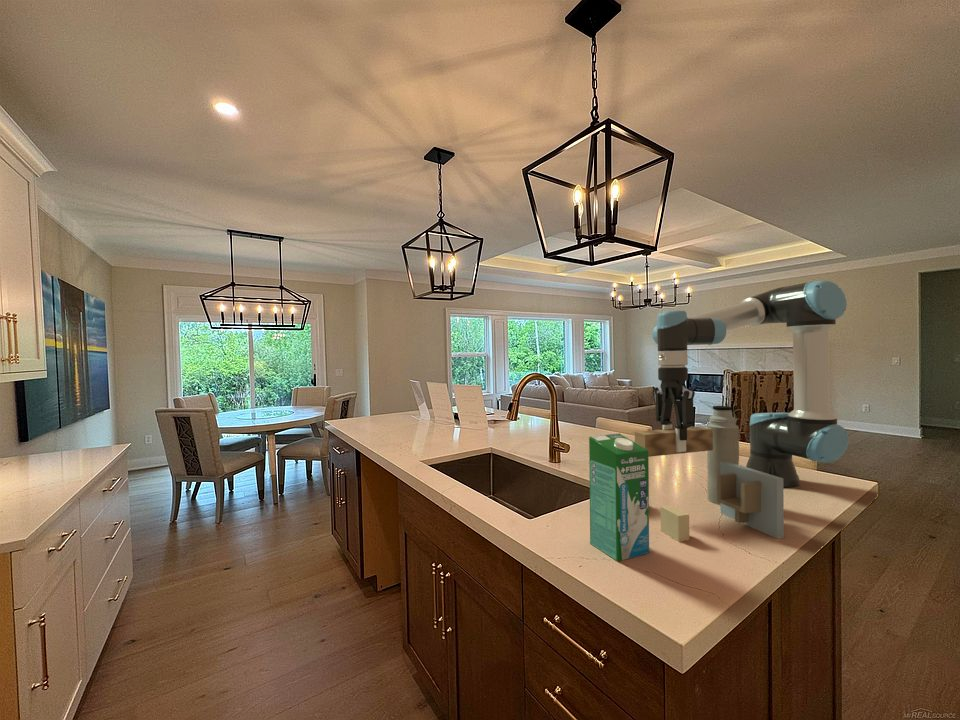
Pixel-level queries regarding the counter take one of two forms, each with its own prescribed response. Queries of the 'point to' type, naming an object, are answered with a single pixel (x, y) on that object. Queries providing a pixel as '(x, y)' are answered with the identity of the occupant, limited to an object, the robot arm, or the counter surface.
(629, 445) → the milk carton
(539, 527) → the counter surface
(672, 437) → the brown wooden block
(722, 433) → the thermos bottle
